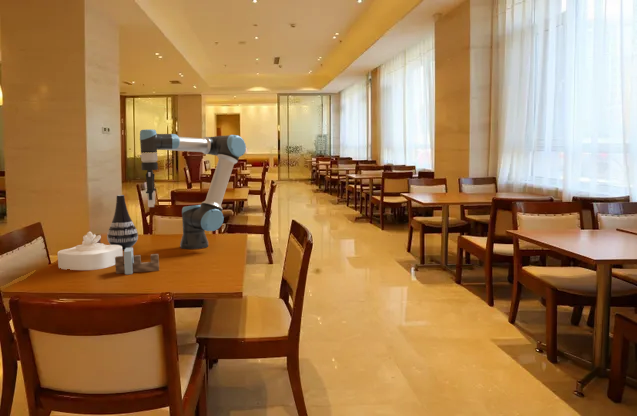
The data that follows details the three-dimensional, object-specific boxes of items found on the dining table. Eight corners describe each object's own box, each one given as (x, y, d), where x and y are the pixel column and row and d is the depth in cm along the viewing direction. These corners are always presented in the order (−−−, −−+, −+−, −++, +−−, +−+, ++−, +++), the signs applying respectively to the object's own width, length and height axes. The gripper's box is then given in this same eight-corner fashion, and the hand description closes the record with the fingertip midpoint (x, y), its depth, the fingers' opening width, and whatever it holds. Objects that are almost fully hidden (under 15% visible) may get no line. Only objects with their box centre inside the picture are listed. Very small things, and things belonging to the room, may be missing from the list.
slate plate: (127, 269, 238) (125, 247, 237) (134, 269, 238) (132, 247, 237) (125, 274, 228) (123, 251, 227) (132, 274, 229) (131, 251, 228)
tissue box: (130, 260, 260) (128, 227, 258) (96, 271, 236) (93, 236, 234) (87, 258, 267) (85, 226, 265) (50, 269, 243) (47, 234, 241)
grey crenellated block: (159, 269, 238) (158, 253, 237) (158, 270, 235) (158, 255, 234) (116, 272, 233) (115, 256, 232) (115, 273, 230) (115, 257, 230)
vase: (101, 250, 286) (98, 196, 283) (122, 245, 301) (119, 193, 298) (124, 251, 280) (121, 196, 277) (144, 246, 295) (141, 194, 292)
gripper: (142, 161, 265) (145, 203, 268) (139, 162, 241) (142, 208, 244) (158, 161, 267) (160, 202, 270) (156, 162, 243) (158, 207, 246)
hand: (151, 205), depth 257 cm, fingers open, 13 cm apart
